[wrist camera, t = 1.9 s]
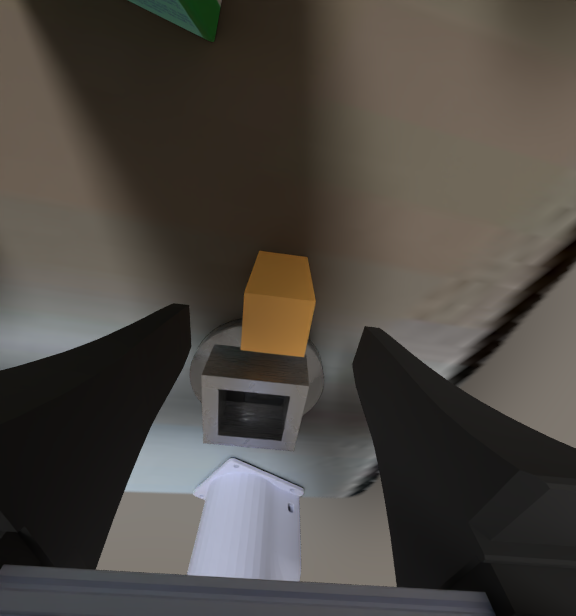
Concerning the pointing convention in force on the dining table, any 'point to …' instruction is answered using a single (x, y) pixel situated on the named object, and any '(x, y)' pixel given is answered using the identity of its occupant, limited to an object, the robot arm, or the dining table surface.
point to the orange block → (278, 305)
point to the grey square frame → (253, 391)
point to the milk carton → (187, 14)
